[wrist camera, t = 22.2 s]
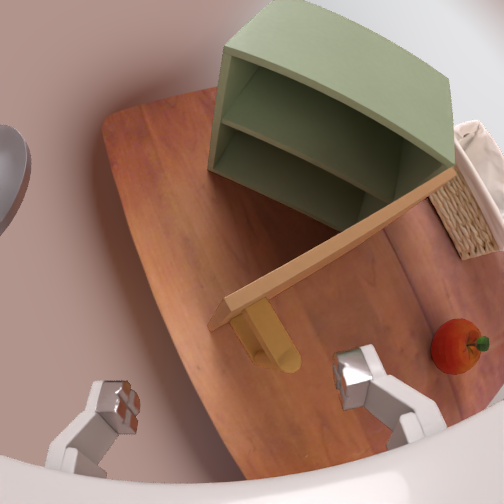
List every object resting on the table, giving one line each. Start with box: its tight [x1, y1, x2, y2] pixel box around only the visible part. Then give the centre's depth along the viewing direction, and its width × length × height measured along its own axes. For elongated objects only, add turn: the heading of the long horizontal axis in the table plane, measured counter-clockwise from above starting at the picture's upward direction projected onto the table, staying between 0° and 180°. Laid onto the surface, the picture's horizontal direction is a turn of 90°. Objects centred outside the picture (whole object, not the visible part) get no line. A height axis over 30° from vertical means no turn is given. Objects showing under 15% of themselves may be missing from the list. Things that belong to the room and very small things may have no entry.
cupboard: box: [207, 0, 455, 232], centre depth 40 cm, size 18×26×24 cm
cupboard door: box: [207, 167, 457, 373], centre depth 33 cm, size 8×26×24 cm, turn 121°
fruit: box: [431, 319, 489, 375], centre depth 42 cm, size 10×10×10 cm
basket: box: [429, 120, 504, 260], centre depth 50 cm, size 24×16×15 cm
